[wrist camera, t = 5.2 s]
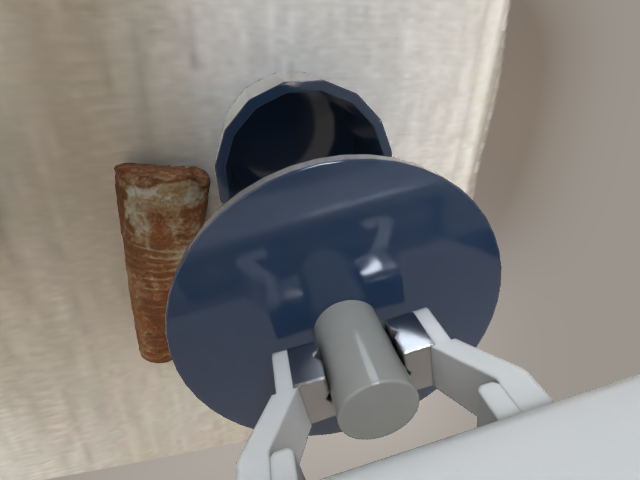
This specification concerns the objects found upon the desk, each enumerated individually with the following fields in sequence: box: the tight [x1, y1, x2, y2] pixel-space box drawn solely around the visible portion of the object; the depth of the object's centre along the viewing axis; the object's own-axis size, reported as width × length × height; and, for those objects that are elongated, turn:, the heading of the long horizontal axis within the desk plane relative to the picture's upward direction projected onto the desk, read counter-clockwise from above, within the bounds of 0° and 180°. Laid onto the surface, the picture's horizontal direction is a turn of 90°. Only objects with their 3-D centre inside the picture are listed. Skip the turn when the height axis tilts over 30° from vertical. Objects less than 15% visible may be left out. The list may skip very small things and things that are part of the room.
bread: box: [114, 163, 210, 363], centre depth 30 cm, size 6×19×6 cm, turn 167°
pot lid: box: [165, 154, 501, 439], centre depth 12 cm, size 12×12×5 cm
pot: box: [215, 72, 392, 205], centre depth 27 cm, size 11×11×8 cm
